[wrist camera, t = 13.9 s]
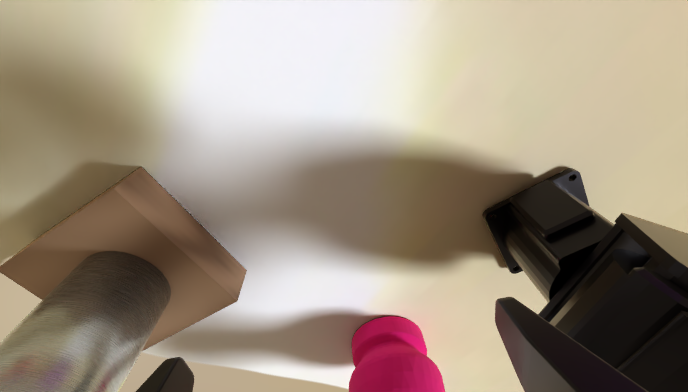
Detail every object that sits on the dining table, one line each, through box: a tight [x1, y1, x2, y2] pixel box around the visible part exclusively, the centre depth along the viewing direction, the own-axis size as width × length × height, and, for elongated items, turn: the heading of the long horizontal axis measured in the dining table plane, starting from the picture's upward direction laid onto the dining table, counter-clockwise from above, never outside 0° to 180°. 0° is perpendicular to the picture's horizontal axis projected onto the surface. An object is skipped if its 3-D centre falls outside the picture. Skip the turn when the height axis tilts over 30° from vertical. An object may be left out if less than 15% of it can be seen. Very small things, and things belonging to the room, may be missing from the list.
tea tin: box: [0, 251, 171, 392], centre depth 15 cm, size 6×6×12 cm
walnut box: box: [0, 167, 247, 351], centre depth 22 cm, size 10×10×3 cm
